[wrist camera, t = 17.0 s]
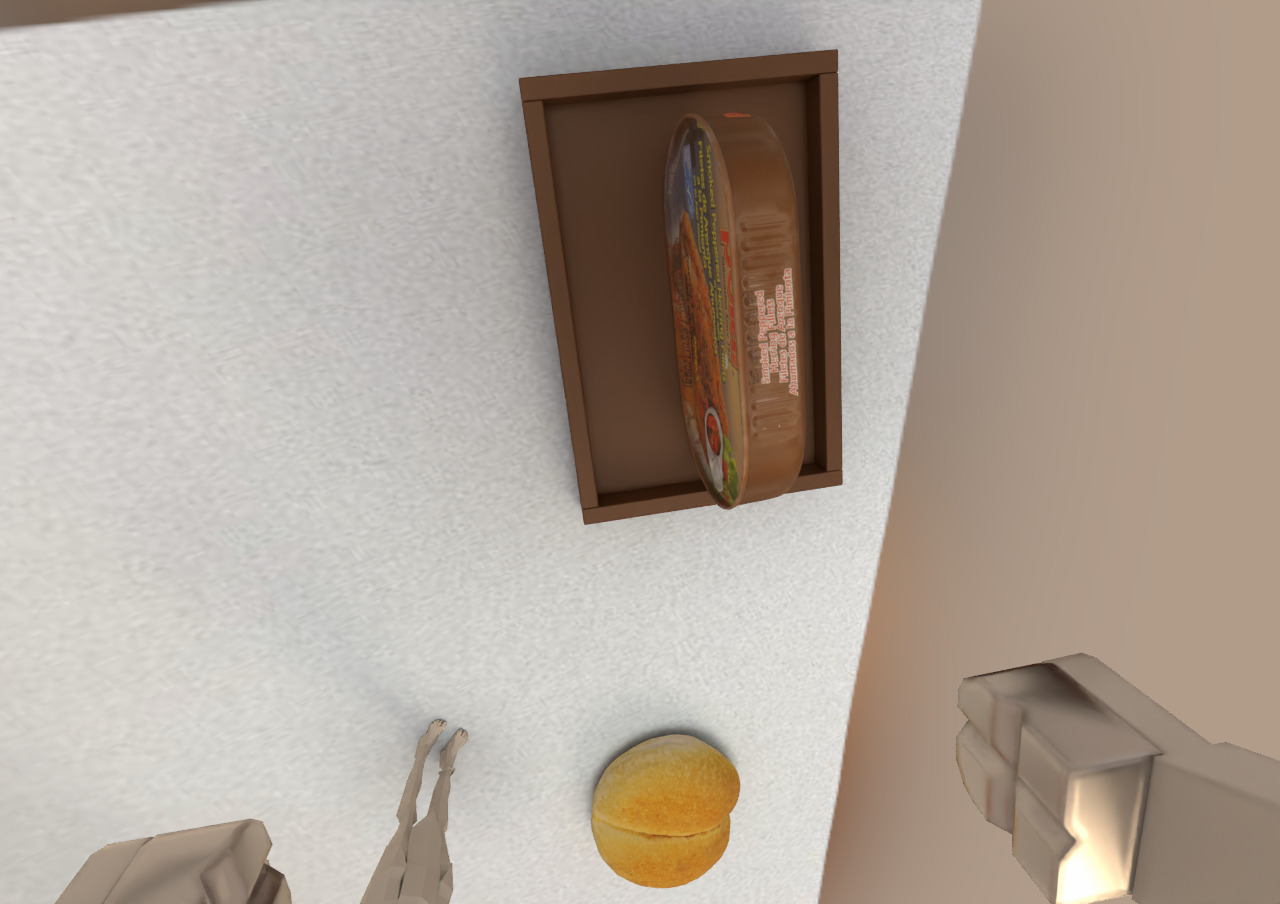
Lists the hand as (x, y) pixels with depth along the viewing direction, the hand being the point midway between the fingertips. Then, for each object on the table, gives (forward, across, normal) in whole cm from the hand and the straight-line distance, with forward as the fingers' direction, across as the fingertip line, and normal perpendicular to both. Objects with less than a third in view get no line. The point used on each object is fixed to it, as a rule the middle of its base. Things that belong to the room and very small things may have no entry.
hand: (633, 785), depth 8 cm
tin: (+24, -7, -2) cm, 25 cm away
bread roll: (+25, -2, +25) cm, 36 cm away
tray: (+25, -6, -3) cm, 26 cm away
